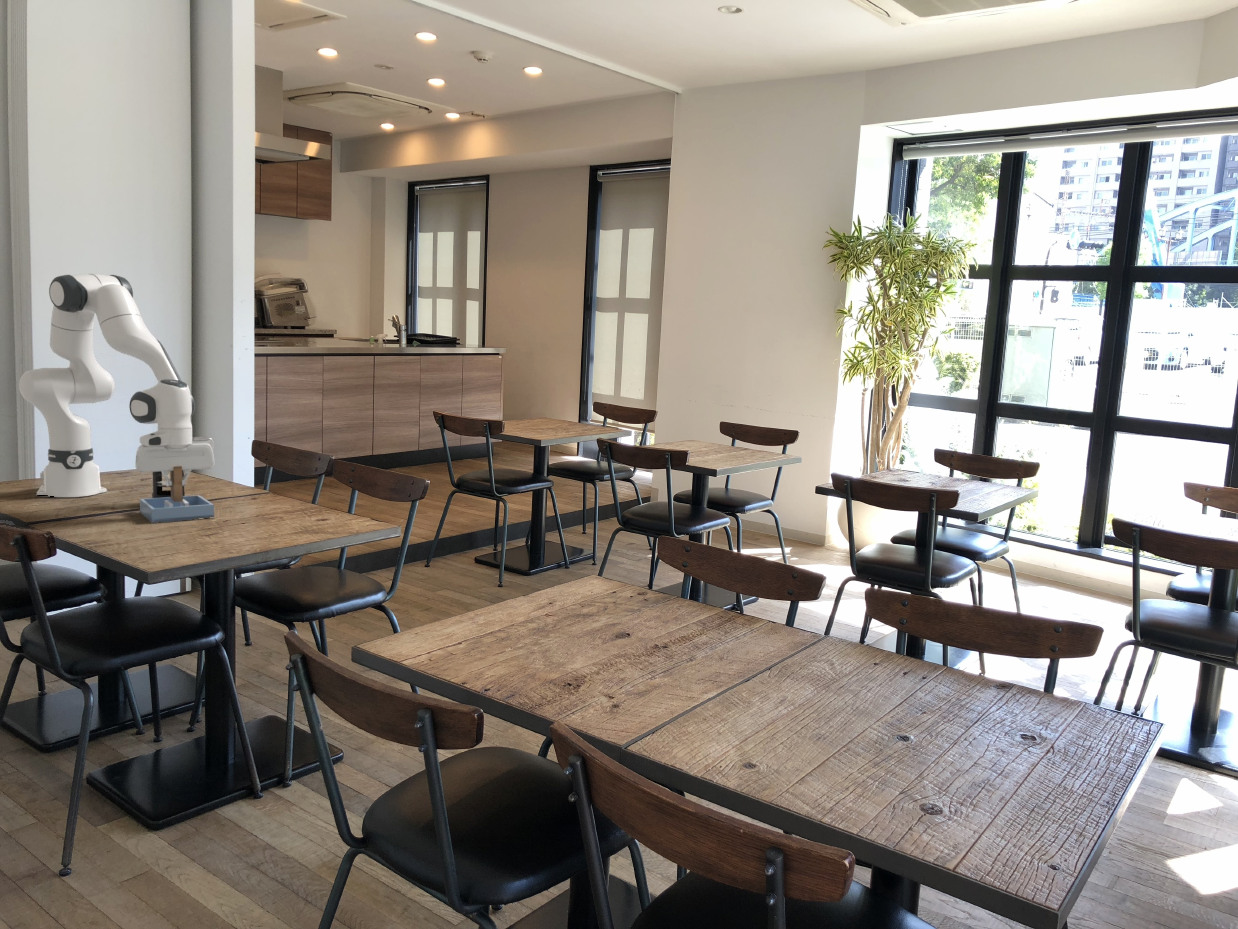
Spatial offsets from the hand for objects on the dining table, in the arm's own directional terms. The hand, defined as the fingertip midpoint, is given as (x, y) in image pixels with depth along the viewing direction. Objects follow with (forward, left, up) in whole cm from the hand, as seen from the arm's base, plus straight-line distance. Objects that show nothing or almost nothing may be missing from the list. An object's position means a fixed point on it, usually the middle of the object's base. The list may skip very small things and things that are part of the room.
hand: (176, 485), depth 262 cm
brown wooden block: (0, 0, -4) cm, 4 cm away
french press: (-18, +2, -9) cm, 20 cm away
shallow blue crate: (0, 0, -9) cm, 9 cm away
